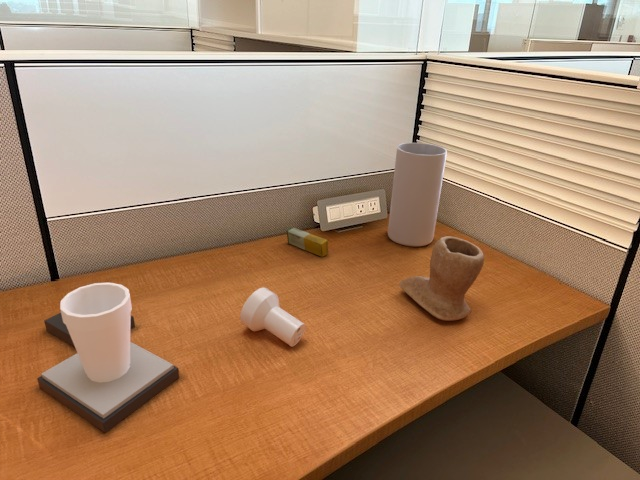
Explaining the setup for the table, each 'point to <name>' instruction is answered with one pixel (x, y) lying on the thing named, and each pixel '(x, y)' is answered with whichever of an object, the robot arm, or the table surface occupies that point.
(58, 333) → the dark grey button base
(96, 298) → the foam cup
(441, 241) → the stone cup
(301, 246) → the medication box
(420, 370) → the table surface
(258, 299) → the spotlight
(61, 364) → the scale
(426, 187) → the cylinder vase
